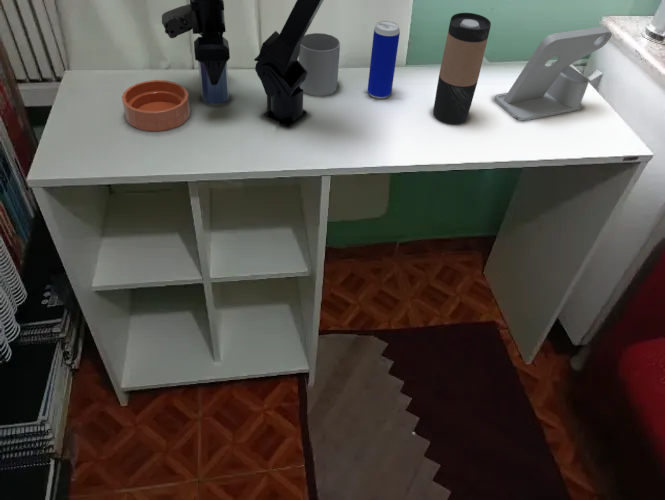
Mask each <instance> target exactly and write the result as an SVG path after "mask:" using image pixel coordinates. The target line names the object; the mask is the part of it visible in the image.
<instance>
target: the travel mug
mask: <svg viewBox="0 0 665 500" xmlns="http://www.w3.org/2000/svg"><path fill="white" fill-rule="evenodd" d="M448 25H449V26H448V29H447V30H448V31H447V35H446V40H445V45H444V49H443V55H442V60H441V63H440V68H439V72H438V73H439V74H438V79H437V86H436V91H435V97H434V103H433V110H432V114H433V117H434V118H435V119H436V120H437V121H439V122H441V123H444V124H447V125H460V124H463V123H465V122H466V121H467V120H468V118H469V117H468V116H469V113H470V110H471V107H472V104H473V99H474V95H475V92H476V90H477V86H478V82H479V78H480V74H481V70H482V65H483V61H484V55H485V51H486V47H487V43H488V39H489V35H490V31H491V25H492V23H491V21H490V20H489V18H487V17H485V16H484V15H481V14H478V13H473V12H457V13H455V14H453V15H452V16H451V17H450V21H449V24H448Z"/></svg>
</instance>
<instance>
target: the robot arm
mask: <svg viewBox="0 0 665 500" xmlns="http://www.w3.org/2000/svg"><path fill="white" fill-rule="evenodd" d="M224 2H225V1H224V0H189V4H185V5H181V6H178V7H176V8H173V9H171V10H170V9H169V10H167V11H165V12H164V13H162V14H161V24H162V26H163V28H164V33H165V34H166V35H167V36H168V38H169V39H175V38H177V37H178V36H180V35H183V34H185V33H188V32H190V31H192V34H193V35H199V36H197V37H196V39H195V40H194V41H193V51H194V52H193V53H194V60H195V61H197V63H198V62H202V63H204V64H205V67H206V70H207V73H208V76H209V79H210V82H211V85H217V84H218V81H219V79H220V77H221V74H222V72H223V69H224V67H225V65H226V63H227V64H228V62H229V60H230V59H231V56H230V55H231V54H230V53H231V52H230V45H229V40H228V39H227V38H226V37H224V34H225V33H226V31H227V30H226V21H225V3H224ZM323 3H324V0H296V1H295V3H294V5H293V6H292V10H291V11H290V13H289V15H288V17H287V19H286V21H285V23H284V25H283V27H282V28H281V31H280V32H278V31H277V30H274V32H273V33H271V35H270V36H269V37H268V38H267V39H266V40H265V41H263V42H262V44H261V47H260V51H259V54H258V55H257V56H256V57H255V58H254V59H253V61H254V62H256V63H255V66H254V67H255V68H254V70H255V72H256V75H257V77H258V78H259V80H260V82H261V84H262V87H263V90H264V93H265V95H266V110H267V111H266V112H264V113H263V116H264V117H265V118H268V119H270V120H272V121H275V122H277V123H278V124H280V125H282V126H284V127H286V128H290V127H292V126H293V125H295V124H297V123H298V122H299V121H300V120H301V119H303V118H304V117H306V116H307V115H308V111H306V110H304V92H303V89H301V88H300V85H301V83H302V82H304V80H305V78H306V76H307V74H308V73H307V71H306V70H305V68H304V67H303V66H302V65H301V64H300V62H299V53H300V46H301V41H302V39H303V37H304V35H306V34H307V32H308V30H309V28H310V26H311V25H312V23H313V21H314V19H315V17H316V15H317V13H318V11H319V10H320V8H321V7H322V4H323Z"/></svg>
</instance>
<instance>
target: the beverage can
mask: <svg viewBox="0 0 665 500" xmlns="http://www.w3.org/2000/svg"><path fill="white" fill-rule="evenodd" d="M399 25H400V24H398V23H396V22H394V21H391V20H382V21H378V22H377V23H376V24H375V26H374V28H373V35H372V46H371V53H370V63H369V73H368V82H367V93H368V94H369V96H371V97H372V98H374V99H379V100H382V99H387V98H389V97H390V95H392V92H393V84H394V77H395V71H396V63H397V62H396V61H397V56H398V50H399V49H398V47H399V43H400V34H401V31H400V26H399Z"/></svg>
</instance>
